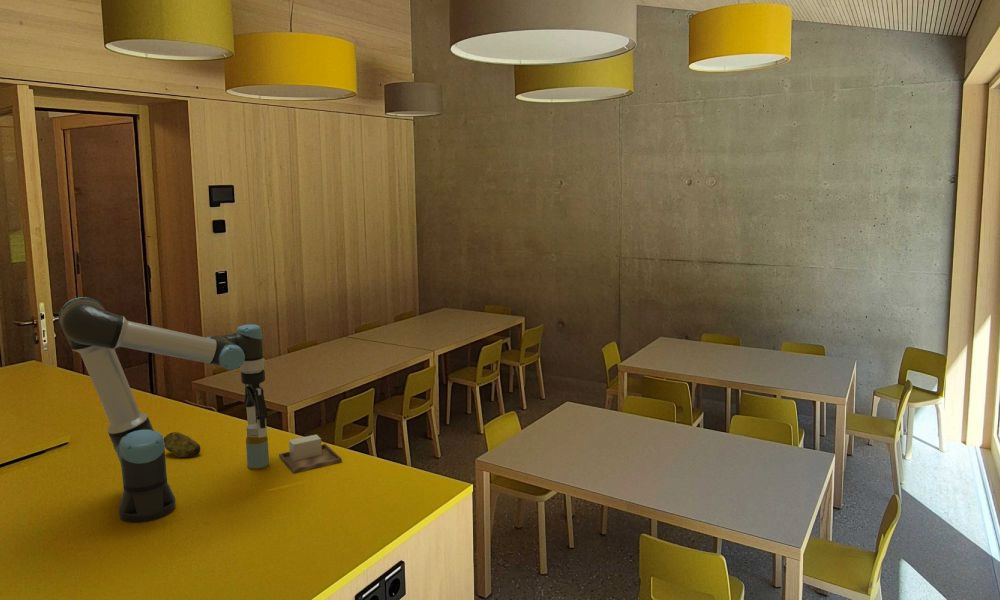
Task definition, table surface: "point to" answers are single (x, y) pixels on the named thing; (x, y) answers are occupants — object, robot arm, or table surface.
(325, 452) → the tray
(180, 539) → the table surface
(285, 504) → the table surface
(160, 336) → the robot arm
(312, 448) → the carton
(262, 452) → the bottle
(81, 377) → the table surface
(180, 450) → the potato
